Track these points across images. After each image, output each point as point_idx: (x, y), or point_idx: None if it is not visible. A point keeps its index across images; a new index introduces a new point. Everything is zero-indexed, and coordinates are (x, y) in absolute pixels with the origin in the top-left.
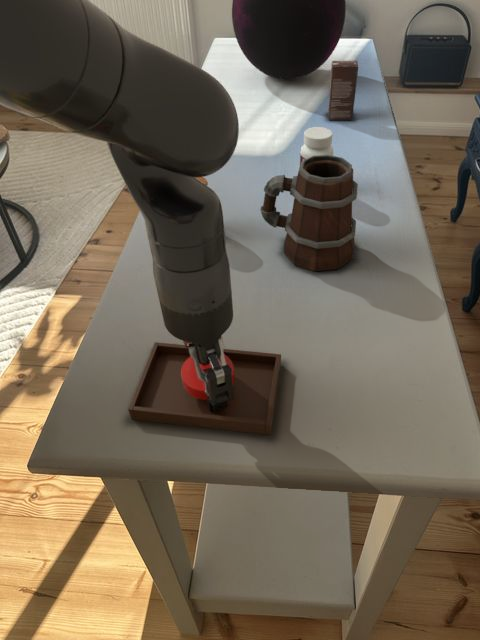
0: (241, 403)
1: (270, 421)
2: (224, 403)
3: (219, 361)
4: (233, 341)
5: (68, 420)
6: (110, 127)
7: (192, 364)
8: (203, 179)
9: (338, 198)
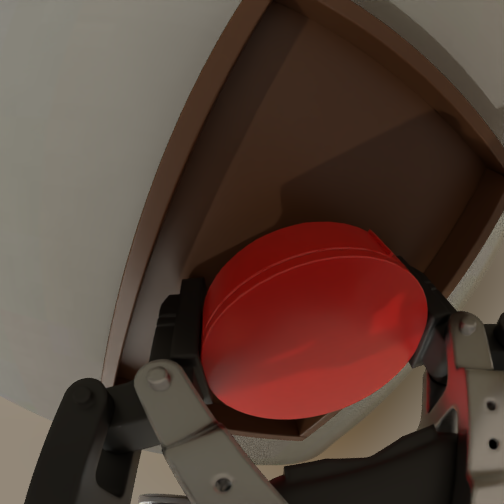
0: (402, 202)
1: None
2: (434, 288)
3: (461, 416)
4: (69, 148)
5: (255, 457)
6: None
7: (267, 397)
8: None
9: None
